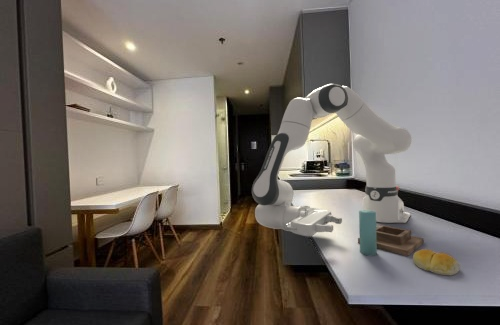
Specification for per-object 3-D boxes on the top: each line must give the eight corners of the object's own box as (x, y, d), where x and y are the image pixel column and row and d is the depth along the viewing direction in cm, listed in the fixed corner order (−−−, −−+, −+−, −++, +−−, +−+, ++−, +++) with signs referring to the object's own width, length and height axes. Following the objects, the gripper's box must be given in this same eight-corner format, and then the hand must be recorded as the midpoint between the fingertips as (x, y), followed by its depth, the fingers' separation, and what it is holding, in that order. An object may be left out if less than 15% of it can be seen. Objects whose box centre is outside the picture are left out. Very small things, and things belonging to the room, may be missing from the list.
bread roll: (421, 257, 65) (421, 243, 65) (463, 270, 57) (463, 253, 57) (406, 265, 61) (405, 249, 60) (449, 280, 53) (449, 262, 53)
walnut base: (377, 232, 85) (376, 221, 85) (423, 243, 74) (423, 230, 74) (358, 242, 76) (357, 230, 76) (407, 256, 65) (407, 241, 65)
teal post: (364, 248, 72) (363, 209, 71) (379, 252, 68) (378, 211, 68) (357, 252, 69) (356, 211, 69) (372, 256, 66) (371, 214, 65)
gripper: (282, 217, 73) (326, 223, 65) (307, 204, 90) (345, 208, 82) (282, 237, 74) (326, 245, 65) (308, 221, 90) (346, 226, 82)
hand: (337, 224), depth 74 cm, fingers open, 8 cm apart
